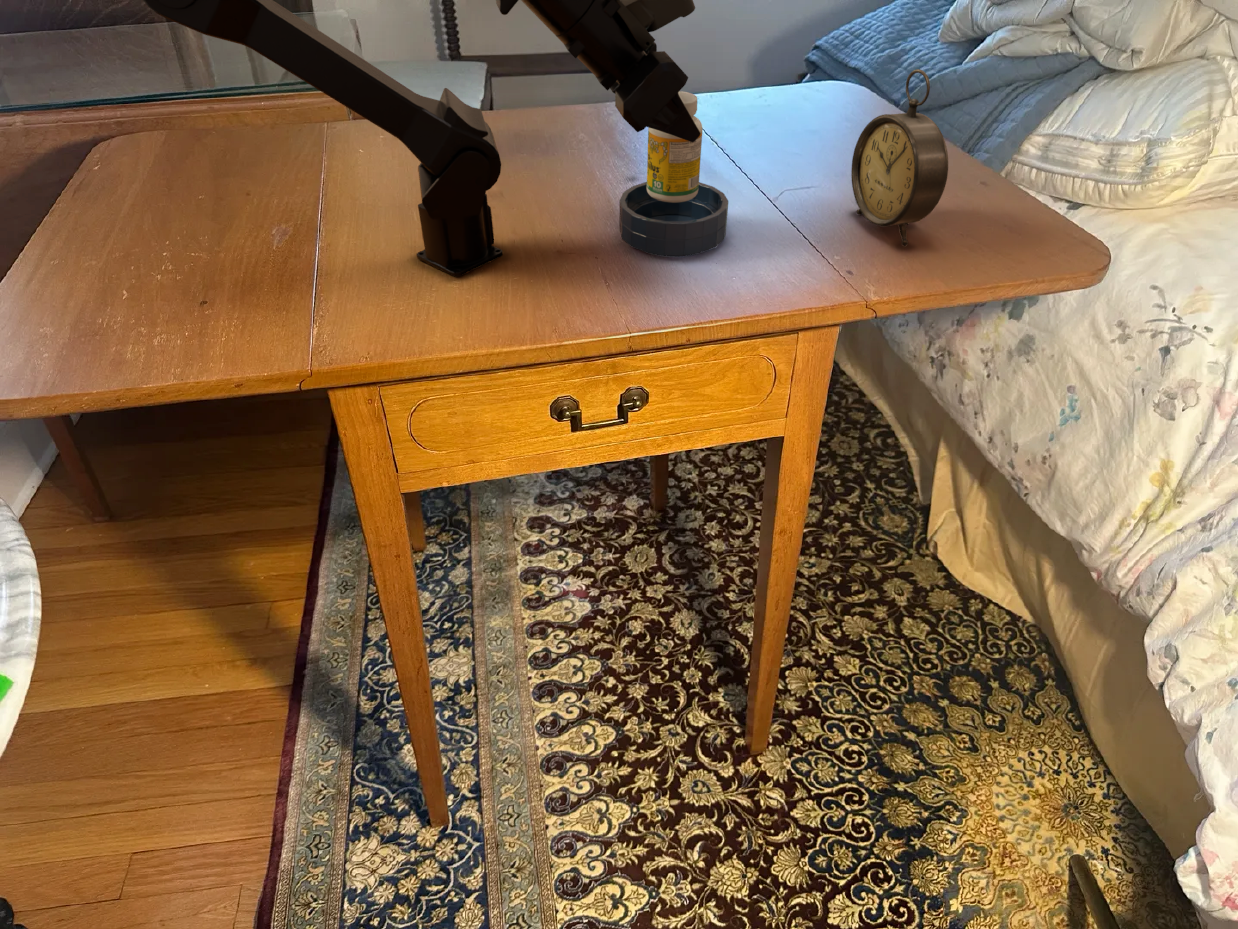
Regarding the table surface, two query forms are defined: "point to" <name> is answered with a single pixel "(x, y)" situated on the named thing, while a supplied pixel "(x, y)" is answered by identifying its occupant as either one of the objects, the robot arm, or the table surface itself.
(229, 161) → the table surface
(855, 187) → the alarm clock
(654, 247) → the dark gray round dish
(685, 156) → the supplement bottle
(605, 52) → the robot arm
